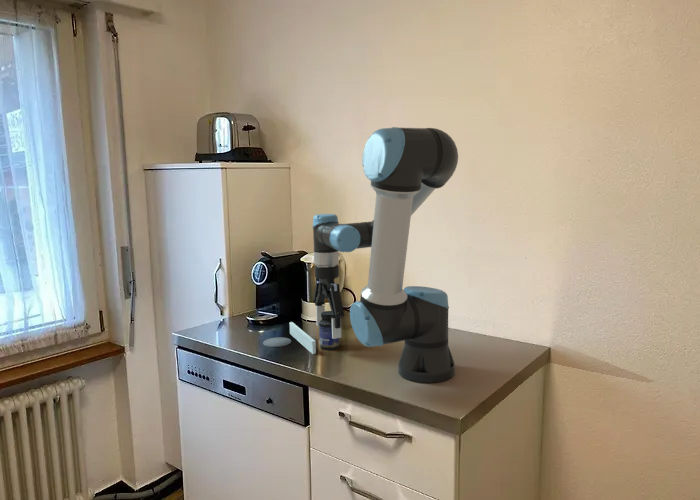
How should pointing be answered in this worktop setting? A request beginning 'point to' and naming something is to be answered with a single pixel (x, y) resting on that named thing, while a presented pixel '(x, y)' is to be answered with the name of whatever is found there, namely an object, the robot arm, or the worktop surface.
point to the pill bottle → (327, 332)
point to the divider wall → (303, 338)
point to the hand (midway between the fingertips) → (328, 331)
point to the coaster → (277, 342)
